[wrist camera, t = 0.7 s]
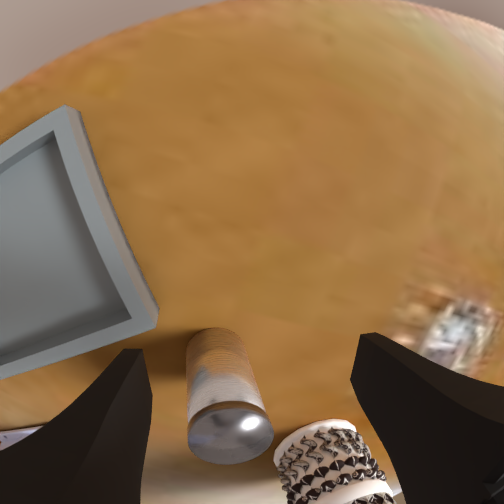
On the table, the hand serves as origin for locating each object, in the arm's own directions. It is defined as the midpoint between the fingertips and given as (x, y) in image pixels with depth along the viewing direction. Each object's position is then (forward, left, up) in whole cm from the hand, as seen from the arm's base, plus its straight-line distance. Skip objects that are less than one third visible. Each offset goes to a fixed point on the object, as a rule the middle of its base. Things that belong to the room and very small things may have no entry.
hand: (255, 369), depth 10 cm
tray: (-13, +6, -10) cm, 17 cm away
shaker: (-3, -5, -10) cm, 12 cm away
